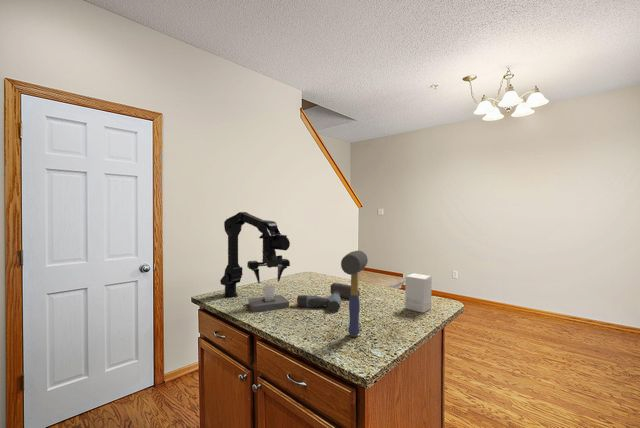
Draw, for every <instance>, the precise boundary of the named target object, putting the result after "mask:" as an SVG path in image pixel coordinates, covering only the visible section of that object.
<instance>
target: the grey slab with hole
mask: <svg viewBox="0 0 640 428" xmlns="http://www.w3.org/2000/svg"><path fill="white" fill-rule="evenodd" d="M248 306H249V307H250V309H251V310H252V312H253V313H258V312H266V311H272V310H278V309H279V310H280V309H287V308H290V302H289V300H287V298H285V296H283V295H282V294H278V295H277V294H276V295H275V294H274V302H266V303H264V302H263V296H260V297H252V298H248Z"/></svg>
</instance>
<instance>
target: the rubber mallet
mask: <svg viewBox="0 0 640 428" xmlns="http://www.w3.org/2000/svg"><path fill="white" fill-rule="evenodd" d="M368 259H369V258H368V256H367V254H366V253H365V252H364V251H361V250H353V251H350V252H349V253H347V254H345V255H344V256H343V257H342V259H341V262H340V267H341V270H342V271H343V272H344V273H345V274H347V275H350V286H351V295H350V298H348V299H349V302H348V312H349V323H348V324H349V326H348V330H347V331H348V334H349V335H350V337H358V335H359V334H360V331H361V330H360V325H359V320H360V319H359V317H360V316H359V315H360V310H361V309H360V305H361V303H360V295H359V296H358V290H359V273H360V272H361V271H363V270H364V269H365V268H366V267H367V265H368V261H369V260H368Z"/></svg>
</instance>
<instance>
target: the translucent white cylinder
mask: <svg viewBox="0 0 640 428" xmlns="http://www.w3.org/2000/svg"><path fill="white" fill-rule="evenodd" d="M274 296H275V286H273V284H269V285H267V284H266V285H263V286H262V297H263V302H264V303H266V302H274Z"/></svg>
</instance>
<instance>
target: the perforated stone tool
mask: <svg viewBox="0 0 640 428" xmlns="http://www.w3.org/2000/svg"><path fill="white" fill-rule="evenodd" d="M329 291H330V295H332V293H333V292H335V291H337V292H339V293H340V298H341V299H350V295H351V284H350V285H349V284H345V283H339V282H333V283H332V284H330V289H329ZM360 294H361V293H360V290H359V289H358V296H359V297H360Z"/></svg>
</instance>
